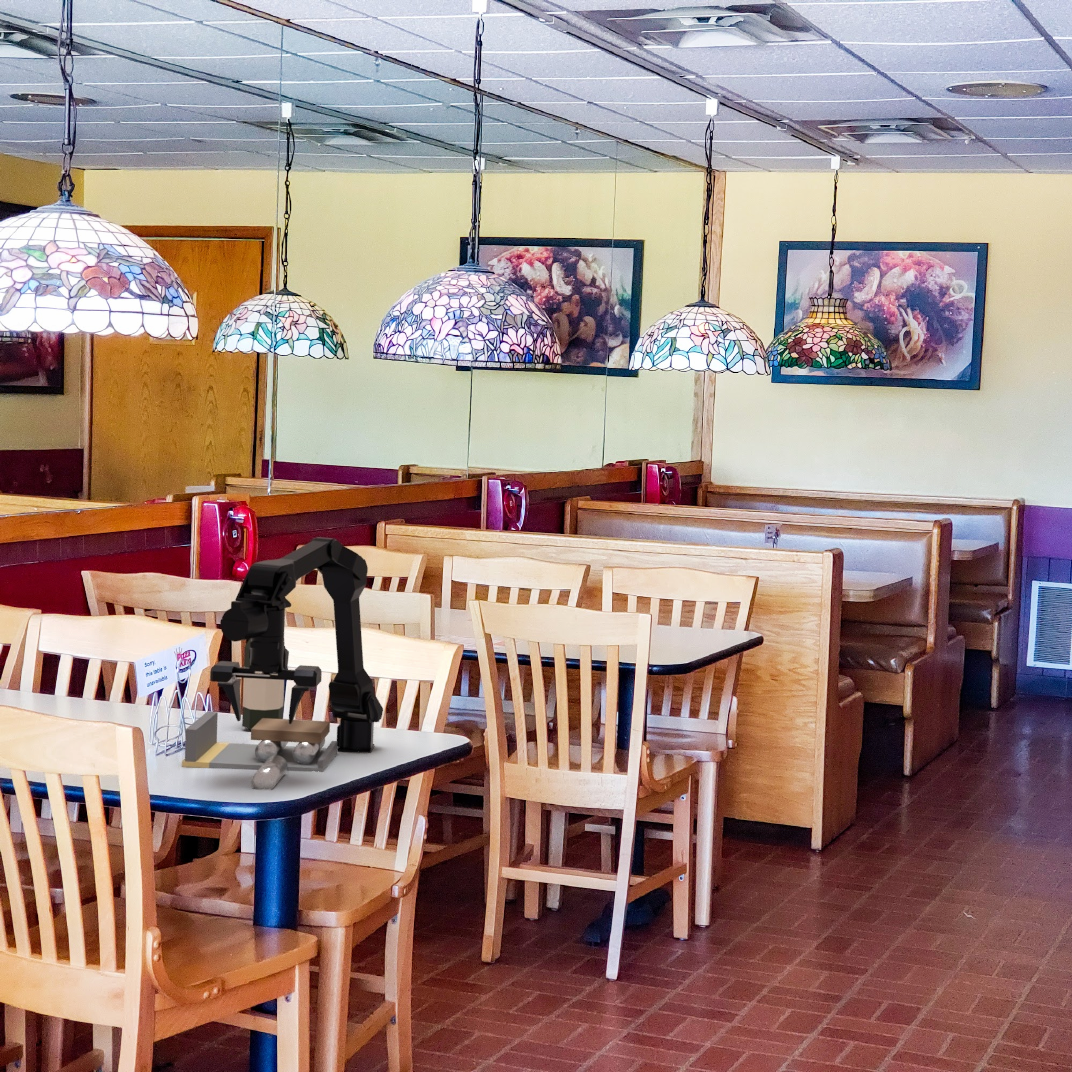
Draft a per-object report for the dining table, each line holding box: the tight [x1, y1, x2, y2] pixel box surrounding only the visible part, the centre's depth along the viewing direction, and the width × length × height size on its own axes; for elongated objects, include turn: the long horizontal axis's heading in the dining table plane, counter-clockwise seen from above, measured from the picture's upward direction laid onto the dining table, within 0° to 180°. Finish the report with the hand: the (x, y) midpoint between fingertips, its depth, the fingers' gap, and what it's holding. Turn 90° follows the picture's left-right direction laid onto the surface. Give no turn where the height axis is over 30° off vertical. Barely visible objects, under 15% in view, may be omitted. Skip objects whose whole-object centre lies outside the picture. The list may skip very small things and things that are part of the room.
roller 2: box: [250, 755, 288, 791], centre depth 261 cm, size 12×4×4 cm
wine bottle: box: [241, 639, 285, 730], centre depth 306 cm, size 8×8×30 cm
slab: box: [250, 718, 331, 743], centre depth 277 cm, size 13×10×2 cm
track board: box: [181, 711, 338, 773], centre depth 278 cm, size 26×16×7 cm, turn 88°
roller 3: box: [293, 737, 326, 765], centre depth 278 cm, size 12×4×4 cm, turn 178°
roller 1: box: [255, 740, 289, 763], centre depth 278 cm, size 12×4×4 cm, turn 178°
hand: (264, 722), depth 260 cm, fingers open, 9 cm apart
